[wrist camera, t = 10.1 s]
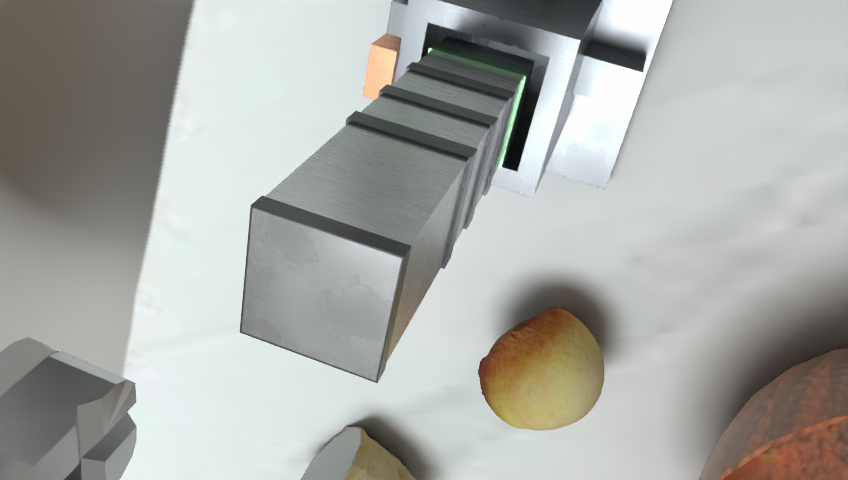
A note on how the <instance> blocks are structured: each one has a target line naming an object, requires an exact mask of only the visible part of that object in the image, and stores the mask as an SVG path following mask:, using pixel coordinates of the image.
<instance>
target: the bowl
mask: <svg viewBox="0 0 848 480" xmlns="http://www.w3.org/2000/svg"><path fill="white" fill-rule="evenodd" d="M699 480H848V347H847V348H842V349H837V350H832V351H829V352H827V353H824V354H822V355H820V356H817V357H815V358H812V359H810V360H808V361H805V362H803V363H800V364H798V365H795V366H793V367H791V368H789V369H788V370H786V371H785V372H784V373H782V374H781V375H779V376H778V377H777V378H775V379H774V380H773V381H771V382H770V383H768V384H767V385H766V386H764V387H763V388H762V389H760V390H759V391H758V392H756V393H755V394H754V395H753V396H752V397H751V398H750V399H749V400H748V401H747V402H746V404H745V405H744V406H743V408H742V409H741V410H740V411H739V413H738V414H737V415H736V417H735V418H734V419H733V421H732V422H731V423H730V424H729V426H728V427H727V428H726V430H725V431H724V432H723V434H722V435H721V436H720V438H719V439H718V441H717V442H716V444H715V446H714V448H713V449H712V451H711V453H710V455H709V457H708V459H707V462H706V464H705V466H704V469H703V471H702V473H701V476H700V479H699Z"/></svg>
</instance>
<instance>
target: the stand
mask: <svg viewBox="0 0 848 480" xmlns="http://www.w3.org/2000/svg"><path fill="white" fill-rule="evenodd" d="M672 1H673V0H393V1H392V3H391V9H390V15H389V21H388V27H387V33H386V34H385V35H384V36H382V37H381V38H379V39H378V40H376V41H375V42H374V43H372V44H371V47H370V54H369V60H368V66H367V72H366V78H365V85H364V91H363V96H366V97H369V98H372V99H376V98H378V94H379V90H381V89H382V88H383V87H384V86H385V85H386V84H388V85H392V84H393V83H395V82H396V81H397V80H398V79H399V78H400V77H401V76H403V75H404V74H405V71H406V67H407V66H408V65H409V64H411V63H412V62H415V63H417V62H418V61H420V60H421V59H422V58H423V57H424V56H425V55H426V54H428V49H429V47H430V46H431V45H433V44H434V43H440V42H441V41H442V40H443V39H445V38H446V37H447V36H452V37H455V38H459V39H462V40H466V41H469V42H472V43H476V44H479V45H483V46H486V47H490V48H493V49H497V50H500V51H504V52H507V53H511V54H514V55H518V56H521V57H525V58H528V59H531V60H535V62H534V66H533V69H532V73H531V77H530V80H529V84H528V88H527V91H526V95H525V98H524V102H523V106H522V109H521V113H520V117H519V120H518V124H517V127H516V131H515V135H514V138H513V142H512V144H511V146H510V148H509V150H508V153H507V157H506V160H505V162H504V164H503V166H502V167H501V168H500V167H498V169H497V171H496V172H495V174H494V176H493V178H492V182H491V185H494V186H497V187H500V188H503V189H507V190H510V191H513V192H516V193H519V194H522V195H525V196H529V197H532V198H533V197H534V194H535V192H536V190H537V187H538V185H539V183H540V181H541V178H542V176H543V174H544V172H545V171H547V172H550V173H553V174H557V175H560V176H563V177H566V178H569V179H573V180H576V181H579V182H582V183H586V184H589V185H592V186H595V187H598V188H602V189H606V186H607V184H608V181H609V178H610V175H611V172H612V169H613V167H614V164H615V161H616V158H617V155H618V153H619V150H620V147H621V144H622V141H623V139H624V136H625V133H626V130H627V127H628V125H629V122H630V119H631V116H632V113H633V111H634V108H635V105H636V102H637V99H638V97H639V94H640V91H641V88H642V85H643V82H644V80H645V77H646V74H647V71H648V68H649V66H650V63H651V60H652V57H653V54H654V52H655V49H656V46H657V43H658V40H659V38H660V35H661V32H662V29H663V26H664V24H665V21H666V18H667V15H668V12H669V10H670V7H671V4H672Z"/></svg>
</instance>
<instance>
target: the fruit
mask: <svg viewBox="0 0 848 480" xmlns="http://www.w3.org/2000/svg"><path fill="white" fill-rule="evenodd" d="M478 374H479V377H480V385H481V389H482V394H483V395H484V397H485V400H486V402H487V403H488V405H489V406H490V408H491V409H492V410H493V411H494V413H495V414H496V415H497V416H498V417H500V418H501V419H502V420H503V421H505V422H506V423H508V424H509V425H511V426H514V427H516V428H522V429H531V430H552V429H557V428H561V427H564V426H567V425H570V424H572V423H574V422H577V421H578V420H580V419H582V418H583V417H584V416H585V415H587V414H588V412H589V411H590V410H591V409H592V408H593V406H594V405H595V403H596V402H597V400H598V398H599V396H600V394H601V391H602V386H603V382H604V363H603V359H602V354H601V350H600V347H599V345H598V343H597V342H596V340H595V338H594V336H593V335H592V334H591V332H590V331H589V330H588V329H587V327H586V326H585V325H584V324H583V323H582V322H581V321H580V320H579V319H578V318H576V317H575V316H574V315H572V314H571V313H570V312H568V311H566V310H564V309H563V308H562V307H554V308H550V309H548V310H546V311H544V312H542V313H540V314H538V315H537V316H535V317H533V318H531V319H529V320H526V321H524V322H522V323H520V324H518V325H516V326H515V327H513V328H512V329H511V330H509V331H508V332H506V333H505V334H504V335H502V336H501V337H500V338H499V339H498V340H497V341H496V342H495V344H494V345H493V347H492V348H491V350H490V352H489V354H488V355H487V356H486V357H484V358H483V359H482V360H481V361H480V366H479V370H478Z"/></svg>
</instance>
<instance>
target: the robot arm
mask: <svg viewBox="0 0 848 480" xmlns="http://www.w3.org/2000/svg"><path fill="white" fill-rule="evenodd" d="M135 403H136V390H135V383H134V382H132V381H130V380H127V379H125V378H123V377H120V376H118V375H116V374H113V373H111V372H109V371H107V370H104V369H101V368H100V367H97V366H95V365H92V364H90V363H88V362H86V361H84V360H81V359H79V358H77V357H74V356H72V355H70V354H67V353H65V352H62V351H60V350H58V349H55V348H53V347H51V346H48V345H46V344H43V343H41V342H38V341H36V340H33V339H31V338H25V339H22V340H19V341H16V342H13V343H12V344H11V345H9V346H8V347H7V348H5V349H4V350H3V351H2V352H0V480H119V479H120V478H121V476H122V474H123V472H124V471H125V469H126V467H127V465H128V463H129V461H130V459H131V457H132V455H133V451H134V447H135V443H136V425H135V423H134V422H133V420H132V419H131V417H130V415H129V414H128V412H127V411H128V410H129V409H130V408H131V407H132V406H133V405H134V404H135Z"/></svg>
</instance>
